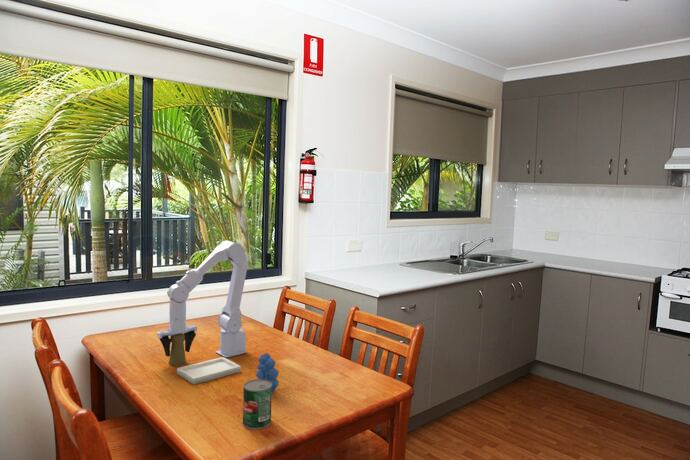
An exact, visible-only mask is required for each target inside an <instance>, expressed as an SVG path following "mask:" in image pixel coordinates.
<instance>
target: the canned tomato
mask: <svg viewBox="0 0 690 460" xmlns="http://www.w3.org/2000/svg"><path fill="white" fill-rule="evenodd" d="M242 393H243V395H242V396H243V398H242V426H243V427H244V428H246V429H250V430H262V429H265V428H267V427H269V426H270V425H271V423H272V399H273V398H272V394H273V393H272V383H271V382H270V381H267V380H262V379H259V378H257V379H251V380H247V381H246V382H244V384H243V392H242Z"/></svg>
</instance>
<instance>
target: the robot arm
mask: <svg viewBox="0 0 690 460" xmlns="http://www.w3.org/2000/svg"><path fill="white" fill-rule="evenodd" d="M224 261H229V262H230V263H231V264H232V266H233V267H232V268H233V269H232V273H231V276H230V282H229V287H228V294H227V298H226V301H225V302H226V303H225V306H224V307H222V309H221V310H222V311H221V313H220V314H219V315H218V318H217V322H218V325H219V326H220V330H219V331H220V332H219V333H220V334H219V336H220V337H219V339H220V342H219V350H215V353H216V354H218V355H219V356H220V355H221V357H224V358H226V359H228V358H230V357H235V356H238V355H242V354H243V355H244V354H246V353H247V350H246V345H247V342H246V341H247V337H246V336H247V335H246V332H245V330H244V329H242V326H243V322H242V321H243V320H242V311H241V302H242V299H243V298H242V297H243V292H244V291H243V290H244V287H245V281H246V277H247V271H248V268H249V267H248V266H249V260H248V258H247V255H246V248H244V247H243V245H242V244H241V243H238V242H234V241H231V240H226V239H225V240H223V241H222V242H221V243H220V244H218V245H217V246H215V248H214V250H213V251H212V252H211V253H210V254H209V255H208V256H207V257H206V258H205V260H203V261H202V262H201V264H200V265H199V266H198V267H197V268H193V269H189V270H187V271H185V275H184V276H182V277H181V278H180V280H176V281H175V284H172V285H171V286H170V287H169V288H168V291H167V293H166V294H167V297H168V298H169V328H167V329H164V330H161V331H157V332H156V333H157V336H156V337H157V338H158V340H159V341H160V342H161V344H162V347H163V351H164V354H165V356H166V357H169V358H170V352H171V345H172V342H171V339H170V337H171V336H173V335H175V334H179V333H183V334H184V335H185V341H184V350H185V353H186V352H187V353H190V351H191V347H192V344H193V342H194V339H195V338H196V335H197V332H198V326H197V325H196V324H195V325H194V324H193V325H187V300H188V298H189V295H190V293H191V292H192V291H193V290H194V289H195V288H196V287H197V286H198V285H199V284H200V283H201V282H202V281H203V279H204V275H205V274H206V273H208V272H209V271H210V270H211V269H213V267H214V266H215V265H217V264H218V263H219V262H224Z"/></svg>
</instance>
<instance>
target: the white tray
mask: <svg viewBox="0 0 690 460" xmlns="http://www.w3.org/2000/svg"><path fill="white" fill-rule="evenodd" d="M241 370H242V366H241V365H239V364H237V363H236V362H234V361H232V360H230V359H228V358H226V357H224V356H221V357H218V358H212V359H209V360H205V361H202V362H197V363H193V364H189V365H185V366H181V367H177V368H176V375H178V376H180V377H181V378H183V379H184V380H186V381H187V382H189V383H190V384H192V385H193V386H194V385H197V384H201V383H206V382H208V381H211V380H215V379H220V378H222V377H226V376H230V375H234V374H237V373H240V372H242V371H241Z"/></svg>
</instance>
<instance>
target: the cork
mask: <svg viewBox="0 0 690 460" xmlns="http://www.w3.org/2000/svg"><path fill="white" fill-rule="evenodd" d="M169 339H171V344H170V356H169V359H168V364H169V365H170V366H174V367H175V366H182V365H185V364H186V363H187V360H186V358H187V357H186V351H185V335H184V333H179V334H175V335H173V336H169Z"/></svg>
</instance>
